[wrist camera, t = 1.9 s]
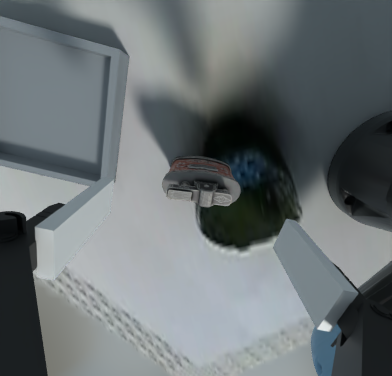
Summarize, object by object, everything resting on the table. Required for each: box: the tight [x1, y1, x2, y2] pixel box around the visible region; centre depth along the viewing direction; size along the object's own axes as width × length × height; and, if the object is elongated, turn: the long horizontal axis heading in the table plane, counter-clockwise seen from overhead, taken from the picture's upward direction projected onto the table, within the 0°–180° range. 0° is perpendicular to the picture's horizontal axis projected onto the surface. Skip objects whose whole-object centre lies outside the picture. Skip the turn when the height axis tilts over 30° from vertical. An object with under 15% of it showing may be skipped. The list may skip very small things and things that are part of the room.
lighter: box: [162, 156, 240, 207], centre depth 23 cm, size 8×3×10 cm, turn 83°
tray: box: [0, 16, 129, 186], centre depth 24 cm, size 16×16×3 cm
